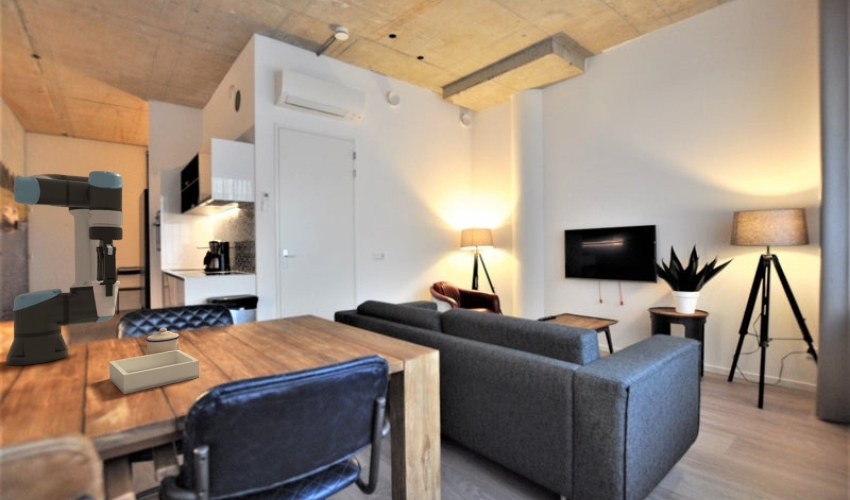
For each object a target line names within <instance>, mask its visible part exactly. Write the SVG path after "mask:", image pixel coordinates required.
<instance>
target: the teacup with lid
mask: <svg viewBox="0 0 850 500" xmlns="http://www.w3.org/2000/svg"><path fill="white" fill-rule="evenodd" d="M179 339H180V335H179V333H176V332H172V331H170V330H167V328H166V327H163V328H162V327H161V328H159V331H156V332H155V333H153V334H152V335H149V336H147V338H146V339H145V340H146V355H151V354H157V353H163V352H168V351H174V350H179Z"/></svg>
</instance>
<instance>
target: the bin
mask: <svg viewBox="0 0 850 500" xmlns="http://www.w3.org/2000/svg"><path fill="white" fill-rule="evenodd" d="M108 363H109V365H108V367H109V369H108V370H109V372H108V373H109V374H108V375H109V376H108V377H109V378H108V379H109V380H110V381H111V382H112V383H113V384H114V385H115V387H117V389H118V390H119V391H120V392H121V393H122V394H123V395H126V394H131V393H135V392H139V391H145V390H149V389H154V388H158V387H162V386H163V387H164V386H167V385H172V384H175V383H180V382H185V381H189V380H190V381H191V380H194V379H197V378H198V379H199V378H200V361H199V360H198V359H197V358H195V357H193V356H191V355H190V354H187V353H186V352H184V351H182V350H180V349H178V350H174V351H168V352H163V353H157V354H151V355H147V354H146V355H141V356H140V355H139V356H134V357H129V358H123V359H117V360H112V361H108Z"/></svg>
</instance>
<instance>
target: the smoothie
mask: <svg viewBox="0 0 850 500" xmlns="http://www.w3.org/2000/svg"><path fill="white" fill-rule="evenodd" d="M102 282H103V281H96V282H92V285H91V286H93V290H94V296H95V302H96V308H97V314H98V316H112V315H113V316H114V315H115V312H116V305H117V298H118V292H119V285H120V284H121V281H120V280H117V281H116V283H115V308H106V309H102V285H100V283H102ZM113 316H112V317H113Z"/></svg>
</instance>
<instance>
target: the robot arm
mask: <svg viewBox="0 0 850 500" xmlns="http://www.w3.org/2000/svg"><path fill="white" fill-rule="evenodd" d="M123 187H124V185H123V177H122V175H121V174H120V173H117V172H113V171H105V170H93V171H90V172H89V173H88V176H81V175H80V176H79V175H69V174H60V173H43V174H42V173H41V174H34V175H30V176H22V175H21V176H16V177H14V180H13V193H14V194H13V195H14V196H13V197H14V198H13V199H14V201H15V202H16V203H17V204H22V205H23V204H25V205H30V206H31V205H32V206H36V205H37V206H51V207H60V208H68V213H69V214H70V215H71V216H73V221H74V226H73V227H74V232H73V233H74V282H73V284H71V285H70V286H69V292H63V291H62V289H61V288H52V289H51V288H50V289H49V288H48V289H45V290H44V289H43V290H36V291H30V292H26V293H21V294H18V295H16V297H14V301H13V308H12V311H13V340H12V342H11V346H10V348H9V350H8V353H7V354H6V357H5V364H6V365H8V366H27V365H38V364H43V363H48V362H53V361H58V360H61V359H64V358H66V357H68V356H69V348H68V345H67V343H66V340H65V339H64V336H63V334H62V332H63V331H62V328H63V327H64V326H77V325H84V324H96V323H102V322H108V321H109V320H111V319H112V318H113V316H114V315H112V316H98V314H97V308H96V302H95V296H94V290H93V286H91V285H92V282H96V281H103V282H102V283H100V285H102V309H106V308H115V309H116V307H115V283H116V281H118V279H117V262H116V261H117V259H116V257H117V256H116V254H117V247H116V246H114V241H122V240H123V238H124V235H123V228H122V227H121V226H123V222H124V221H123V220H124V216H123V215H124V214H123V213H124V212H123Z"/></svg>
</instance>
